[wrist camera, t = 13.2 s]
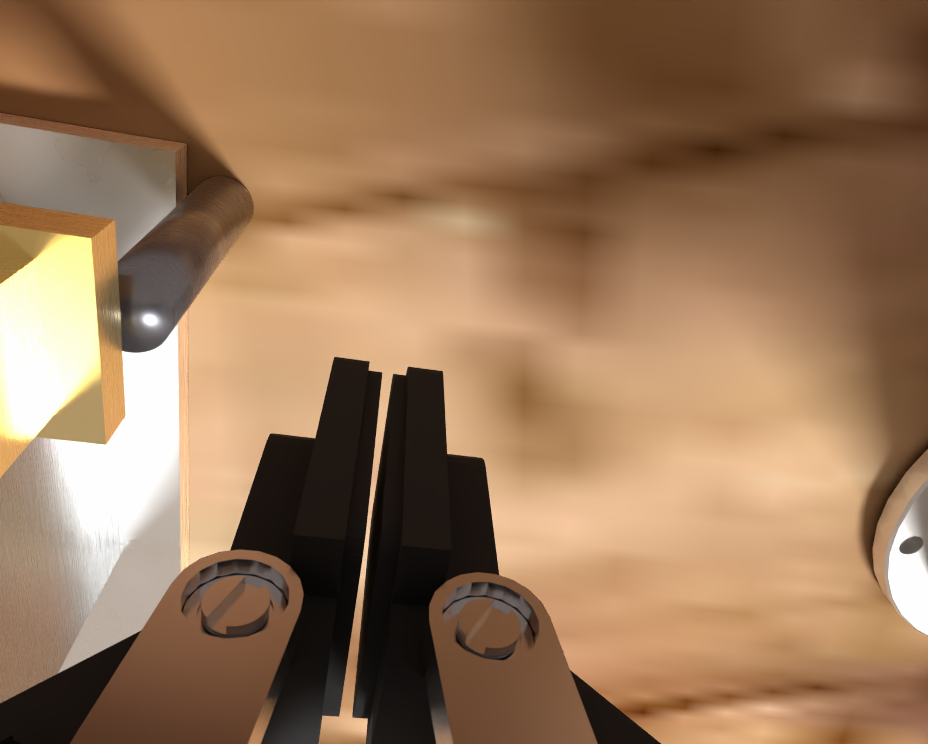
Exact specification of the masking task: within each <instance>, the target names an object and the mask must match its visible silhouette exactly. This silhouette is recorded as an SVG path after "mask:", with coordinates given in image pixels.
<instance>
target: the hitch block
mask: <svg viewBox="0 0 928 744" xmlns="http://www.w3.org/2000/svg"><path fill="white" fill-rule="evenodd" d="M0 202H2V203H9V204H16V205H22V206H29V207H35V208H42V209H49V210H55V211H62V212H69V213H75V214H82V215H88V216H95V217H102V218H108V219H115V227H116V245H117V263H118V281H119V299H120V318H121V336H122V354H123V372H124V390H125V409H126V417H125V418H124V419H123V421H122V422H121V424H120V425H119V427H118V428H117V430H116V431H115V433H114V434H113V436H112V437H111V439H110V440H109V442H108V443H107V445H101V444H92V443H83V442H74V441H65V440H56V439H48V438H39V437H34V438H33V440H32V441H31V442H30V443H29V444H28V446H27V447H26V448H25V449H24V450H23V452H22V453H21V454H20V455H19V456H18V457H17V459H16V460H15V461H14V462H13V463H12V465H11V466H10V467H9V468H8V469H7V471H6V472H5V473H4V474H3V475H2V476H1V478H0V703H2V702H4V701H6V700H8V699H9V698H11V697H13V696H15V695H17V694H19V693H21V692H23V691H25V690H27V689H29V688H31V687H33V686H35V685H37V684H38V683H40V682H42V681H44V680H46V679H48V678H50V677H52V676H54V675H56V674H58V673H60V672H62V671H64V670H66V669H68V668H69V667H71V666H73V665H75V664H77V663H79V662H81V661H83V660H85V659H87V658H89V657H91V656H93V655H95V654H97V653H98V652H100V651H102V650H104V649H106V648H108V647H110V646H112V645H114V644H116V643H118V642H120V641H122V640H124V639H126V638H127V637H129V636H131V635H133V634H135V633H137V632H139V631H141V630H142V629H143V627H144V626H145V624H146V623H147V621H148V619H149V618H150V616H151V615H152V613H153V611H154V610H155V608H156V607H157V605H158V604H159V602H160V600H161V599H162V597H163V596H164V594H165V593H166V591H167V589H168V588H169V586H170V585H171V583H172V582H173V581H174V580H175V579H176V577H177V576H178V575H179V574H180V573H181V572H182V571H183V570H184V569H185V568H186V567H188V566H189V451H188V308H189V307H190V305H191V304H192V302H193V301H194V299H195V298H196V297H197V295H198V294H199V292H200V291H201V290H202V288H203V287H204V285H205V284H206V283H207V281H208V280H209V278H210V277H211V275H212V274H213V273H214V271H215V270H216V268H217V267H218V266H219V264H220V263H221V261H222V260H223V258H224V257H225V256H226V254H227V253H228V251H229V250H230V249H231V247H232V246H233V244H234V243H235V242H236V240H237V239H238V237H239V236H240V234H241V233H242V232H243V230H244V229H245V227H246V226H247V225H248V223H249V222H250V220H251V218H252V215H253V201H252V198H251V196H250V194H249V192H248V190H247V189H246V188H245V187H244V186H243V185H242V184H241V183H240V182H238V181H237V180H235V179H233V178H230V177H227V176H213V177H210V178H207V179H206V180H204V181H203V182H202V183H201V184H200V185H199V186H198V187H196V188H195V189H194V190H193V191H192V192H191V193H190V194H189V195H188V196H187V144H185V143H179V142H173V141H167V140H161V139H155V138H149V137H143V136H137V135H131V134H125V133H119V132H113V131H107V130H101V129H95V128H89V127H83V126H77V125H71V124H65V123H59V122H52V121H46V120H40V119H34V118H28V117H22V116H16V115H10V114H4V113H0Z"/></svg>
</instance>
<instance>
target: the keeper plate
mask: <svg viewBox="0 0 928 744" xmlns="http://www.w3.org/2000/svg"><path fill="white" fill-rule="evenodd" d="M125 417H126V409H125V390H124V372H123V354H122V336H121V318H120V299H119V281H118V263H117V245H116V227H115V219H108V218H102V217H95V216H88V215H82V214H75V213H69V212H62V211H55V210H49V209H42V208H35V207H29V206H22V205H16V204H9V203H2V202H0V478H1V476H2V475H3V474H4V473H5V472H6V471H7V469H8V468H9V467H10V466H11V465H12V463H13V462H14V461H15V460H16V459H17V457H18V456H19V455H20V454H21V453H22V452H23V450H24V449H25V448H26V447H27V446H28V444H29V443H30V442H31V441H32V440H33V438H34V437H39V438H48V439H56V440H65V441H74V442H83V443H92V444H101V445H107V443H108V442H109V440H110V439H111V437H112V436H113V434H114V433H115V431H116V430H117V428H118V427H119V425H120V424H121V422H122V421H123V419H124V418H125Z"/></svg>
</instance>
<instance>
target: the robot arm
mask: <svg viewBox="0 0 928 744" xmlns="http://www.w3.org/2000/svg"><path fill="white" fill-rule="evenodd" d="M368 370H369V361H361V360H354V359H346V358H339V357H334V360H333V365H332V369H331V373H330V378H329V382H328V386H327V391H326V395H325V399H324V404H323V408H322V412H321V417H320V421H319V425H318V430H317V434H316V438H307V437H298V436H290V435H281V434H272V433H271V434H270V435H269V437H268V440H267V442H266V445H265V448H264V451H263V454H262V457H261V460H260V463H259V466H258V469H257V472H256V475H255V478H254V481H253V484H252V487H251V490H250V493H249V496H248V499H247V502H246V505H245V508H244V511H243V514H242V517H241V520H240V523H239V526H238V529H237V532H236V535H235V538H234V541H233V544H232V547H231V550H230V551H223V552H218V553H215V554H212V555H209V556H206V557H204V558H201V559H199V560H197V561H196V562H194V563H193V564H191V565H190V566H188V567H186V568H185V569H184V570H183V571H182V572H181V573H180V574H179V575H178V576H177V577H176V579H175V580H174V581H173V582H172V583H171V585H170V586H169V588H168V589H167V591H166V593H165V594H164V596H163V597H162V599H161V600H160V602H159V604H158V605H157V607H156V608H155V610H154V611H153V613H152V615H151V616H150V618H149V619H148V621H147V623H146V624H145V626H144V627H143V629H142V630H141V631H139V632H137V633H135V634H133V635H131V636H129V637H127V638H126V639H124V640H122V641H120V642H118V643H116V644H114V645H112V646H110V647H108V648H106V649H104V650H102V651H100V652H98V653H97V654H95V655H93V656H91V657H89V658H87V659H85V660H83V661H81V662H79V663H77V664H75V665H73V666H71V667H69V668H68V669H66V670H64V671H62V672H60V673H58V674H56V675H54V676H52V677H50V678H48V679H46V680H44V681H42V682H40V683H38V684H37V685H35V686H33V687H31V688H29V689H27V690H25V691H23V692H21V693H19V694H17V695H15V696H13V697H11V698H9V699H8V700H6V701H4V702H2V703H0V744H318V743H319V735H320V728H321V721H322V715H324V716H339V714H340V707H341V700H342V693H343V687H344V680H345V673H346V666H347V659H348V653H349V646H350V639H351V632H352V626H353V619H354V612H355V605H356V598H357V592H358V585H359V578H360V571H361V564H362V557H363V550H364V542H365V534H366V525H367V516H368V506H369V496H370V487H371V477H372V467H373V457H374V448H375V438H376V428H377V418H378V409H379V399H380V389H381V380H382V372H374V371H368ZM873 564H874V572H875V575H876V577H877V580H878V583H879V585H880V588H881V590H882V592H883V593H884V594H885V596H886V597H887V598H888V600H889V601H890V603H891V604H892V605H893V607H894V608H895V610H896V611H897V613H898V614H899V615H900V616H901V617H902V618H903V619H904V620H905V621H906V622H907V623H908V624H910V625H911V626H912V627H913V628H914V629H916V630H918V631H919V632H921V633H923V634H925V635H927V636H928V449H927V450H926V451H925V452H924V453H923V454H922V456H921V457H920V458H919V459H918V460H917V461H916V462H915V463H914V464H913V465H912V466H911V467H910V469H909V470H908V471H907V472H906V473H905V475H904V476H903V478H902V479H901V481H900V482H899V484H898V485H897V487H896V488H895V490H894V491H893V493H892V494H891V496H890V497H889V499H888V501H887V503H886V505H885V508H884V510H883V512H882V515H881V517H880V519H879V522H878V524H877V528H876V533H875V538H874V543H873ZM353 717H354V718H368V724H367V738H366V744H661V743H659V742H658V741H657V740H656V739H654V738H653V737H652V736H651V735H650V734H648V733H647V732H646V731H645V730H643V729H642V728H641V727H640V726H638V725H637V724H636V723H635V722H633V721H632V720H631V719H630V718H629V717H627V716H626V715H625V714H624V713H622V712H621V711H620V710H619V709H617V708H616V707H615V706H614V705H612V704H611V703H610V702H609V701H608V700H606V699H605V698H604V697H603V696H601V695H600V694H599V693H598V692H596V691H595V690H594V689H593V688H591V687H590V686H589V685H588V684H587V683H585V682H584V681H583V680H582V679H580V678H579V677H578V676H577V675H575V674H574V673H573V672H572V671H571V670H570V669H569V666H568V664H567V661H566V658H565V656H564V653H563V650H562V648H561V645H560V642H559V640H558V637H557V634H556V632H555V629H554V626H553V624H552V621H551V618H550V616H549V614H548V612H547V611H546V609H545V607H544V605H543V604H542V602H541V601H540V600H539V599H538V598H537V597H536V596H535V595H534V594H533V593H532V592H531V591H530V590H529V589H527V588H526V587H524V586H522V585H521V584H519V583H517V582H516V581H514V580H512V579H509V578H506V577H503V576H500V575H499V570H498V562H497V554H496V546H495V538H494V530H493V522H492V514H491V507H490V499H489V491H488V483H487V475H486V467H485V462H484V460H483V459H482V458H477V457H468V456H460V455H451V454H447V444H446V423H445V403H444V382H443V371H437V370H429V369H422V368H414V367H408V369H407V373H406V376H405V375H397V374H393V378H392V384H391V391H390V398H389V404H388V411H387V418H386V424H385V431H384V438H383V444H382V451H381V458H380V464H379V471H378V478H377V484H376V491H375V498H374V504H373V511H372V519H371V527H370V537H369V547H368V558H367V568H366V579H365V589H364V599H363V610H362V620H361V631H360V641H359V652H358V662H357V673H356V683H355V694H354V704H353Z"/></svg>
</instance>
